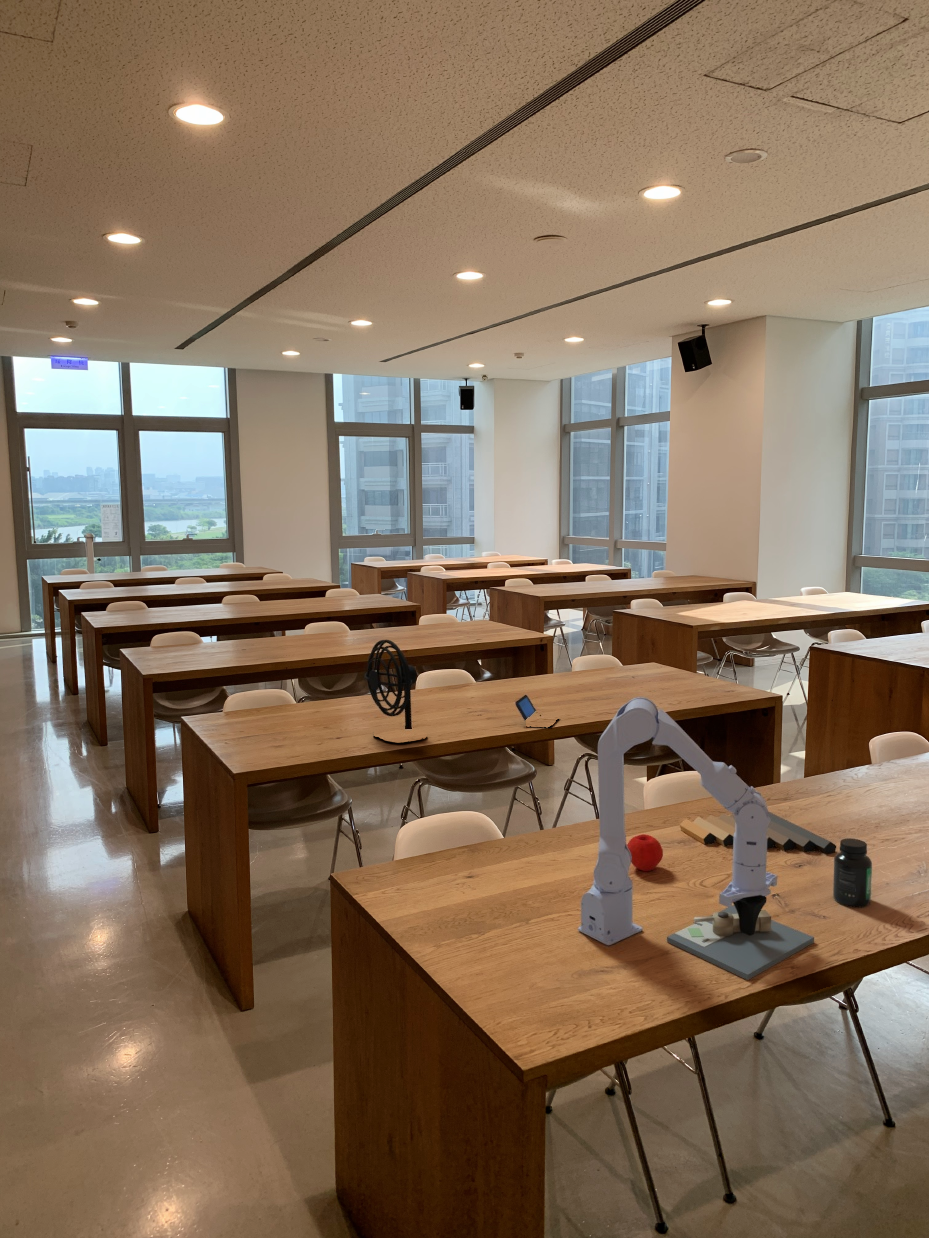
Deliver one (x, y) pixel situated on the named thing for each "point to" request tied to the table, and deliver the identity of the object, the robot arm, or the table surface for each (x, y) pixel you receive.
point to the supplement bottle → (852, 874)
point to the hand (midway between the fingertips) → (747, 932)
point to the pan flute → (777, 834)
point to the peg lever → (734, 922)
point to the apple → (645, 852)
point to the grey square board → (741, 946)
